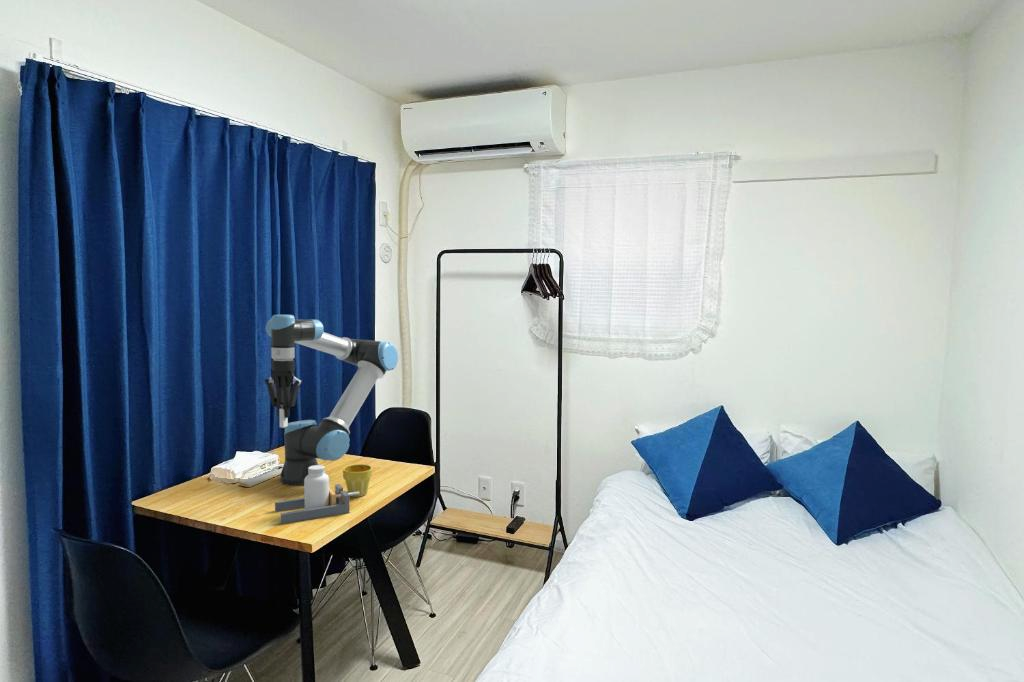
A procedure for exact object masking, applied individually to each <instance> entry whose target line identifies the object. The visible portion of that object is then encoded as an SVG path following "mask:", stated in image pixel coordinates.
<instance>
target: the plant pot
mask: <svg viewBox="0 0 1024 682" xmlns="http://www.w3.org/2000/svg"><path fill="white" fill-rule="evenodd" d="M372 476H373V467H372V466H371V465H369V464H364V463H357V464H349V465H346V466H345V467H343V468H342V478H343V480H345V484H346V489H347V490H346V491H347V493H351V492H358V491H359V494H358V495H351V496H350V497H352V498H360V497H364V496H366V495H367V494H368V490H369V487H370V481H371V478H372Z"/></svg>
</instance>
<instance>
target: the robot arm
mask: <svg viewBox="0 0 1024 682" xmlns="http://www.w3.org/2000/svg"><path fill="white" fill-rule="evenodd" d="M324 331H325V330H324V325H323V323H322V322H321V321H320V320H319V319H314V318H313V319H312V318H310V319H302V318H301V319H299V318H298V319H297V318H295V316H294V315H293V314H273V315H272V316H271V318H270V319H269V320H268V321H267V322H266V325H265V332H266V334H267V335H268V336H269V337H270V341H271V345H270V346H271V347H270V348H271V349H270V350H271V351H270V353H271V359H272V360H271V362H270V363H271V371H272V372H271V374H270V376H269V377H268V378H265V379H264V382H265V384H266V386H267V391H268V395H269V398H270V399H269V400H270V403H271V406H272V407H275V408H276V409H277V410H276V411H277V418H279V428H282V429H284V433H283V436H284V437H283V438H284V442H283V443H284V463H283V466H282V469H281V472H280V475H279V481H280V483H281V484H283V485H287V486H294V487H295V486H304V479H305V477H306V476H307V475H309V474H308V468H309V467H310V466H314V465H319V463H318V459H320V460H321V461H322V460H323V461H329V462H332V461H333V462H334V461H338V460H339V459H341V458H343V456H345V454H346V453H348V450H349V448H350V442H351V441H350V437H349V436H350V435H351V431H350V426H351V424H353V423H352V422H353V421H354V419H355V417H356V416H357V415H358V413H359V411H360V409H361V407H362V406H363V404H364V403H365V400H366V399H367V397H368V396H369V394H370V392H371V391H372V389H373V387H374V385H375V384H376V382H377V380H378V379H382V378H384V376H385V374H386V372H387V371H388V372H389V371H393V370H395V369H396V367H397V365H398V362H399V353H398V349H397V347H396V346H395V345H394V343H392V342H389V341H385V340H382V341H379V340H369V339H354V338H351V337H347V336H346V337H345V336H343V337H339V336H336V335H333V334H330V333H328V332H324ZM297 344H298V345H301V346H305V347H307V348H310V349H314V350H316V351H320V352H323V353H326V354H329V355H333V356H334V357H335V358H336V359H338V360H341V361H343V362H346V363H348V364H351V365H354V366H356V367H358V369H357V371H356V372H355V374H354V375H353V377H352V379H351V380H350V382H349V384H348V385H347V387H346V389H344V391H343V393H342V395H341V397H340V398H339V400H338V401H337V402H336V405H335V406H334V408H333V409H332V411H331V413H330V415H329V416H328V417H324V418H322V419H321V421H320V422H319V423H318V426H317V421H316V420H315V419H304V420H302V419H301V420H298V421H297V420H296V421H291V422H289V420H288V419H289V418H290V416H291V413H290V412H291V408H293V407H295V406H296V403H297V399H298V395H299V389H300V386H301V384H302V383H303V380H302V379H299V378H297V377H296V373H295V369H296V368H295V367H296V365H295V364H296V361H295V358H296V355H295V354H296V352H295V349H296V347H295V346H296V345H297ZM292 384H293V385H292Z"/></svg>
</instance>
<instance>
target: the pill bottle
mask: <svg viewBox="0 0 1024 682" xmlns="http://www.w3.org/2000/svg"><path fill="white" fill-rule="evenodd" d="M325 467H326V466H324V465H322V464H321V465H320V464H318V465H314V466H310V467H309V468H308V474H309V475H307V476H306V477H305V479H304V485H303V486H304V487H303V488H304V489H303V490H304V494H303V495H304V497H305V507H304V510H305V509H311V508H317V507H323V506H329V486H330V477H329V475H328V473H325V471H326V468H325ZM304 497H303V498H304Z"/></svg>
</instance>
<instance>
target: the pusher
mask: <svg viewBox="0 0 1024 682" xmlns="http://www.w3.org/2000/svg"><path fill="white" fill-rule="evenodd" d="M347 493H348V492H347ZM348 494H349V497H352V496H351V495H358V494H359V491H358V492H351V493H348ZM338 497H341V494H338V495H336V494H335V490H333V489H332V487H331V486H330V485H329V506H330V505H336V504H337V503H336V498H338Z"/></svg>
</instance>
